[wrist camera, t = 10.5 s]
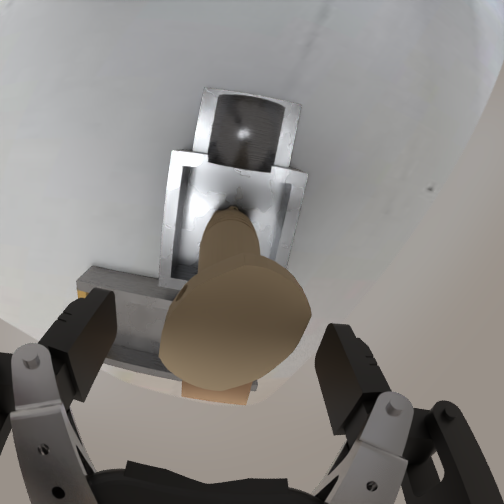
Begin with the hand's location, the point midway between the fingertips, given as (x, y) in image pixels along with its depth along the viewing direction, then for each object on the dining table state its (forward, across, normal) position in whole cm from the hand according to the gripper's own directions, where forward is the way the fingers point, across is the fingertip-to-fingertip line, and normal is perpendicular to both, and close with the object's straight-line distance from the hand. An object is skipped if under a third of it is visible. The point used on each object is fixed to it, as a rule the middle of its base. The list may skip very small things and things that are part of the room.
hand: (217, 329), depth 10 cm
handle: (+15, 0, 0) cm, 15 cm away
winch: (+16, 0, -2) cm, 17 cm away
